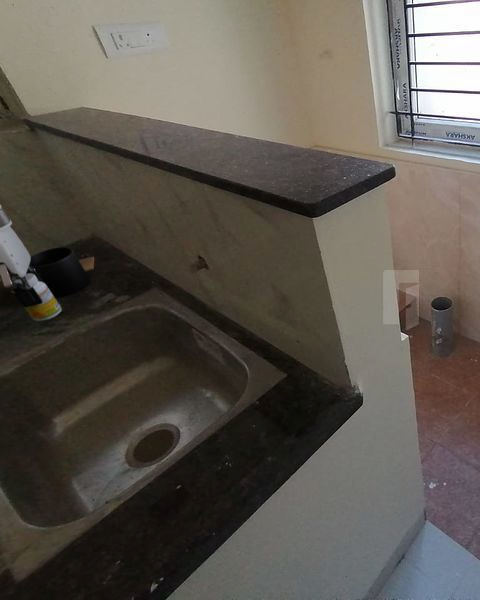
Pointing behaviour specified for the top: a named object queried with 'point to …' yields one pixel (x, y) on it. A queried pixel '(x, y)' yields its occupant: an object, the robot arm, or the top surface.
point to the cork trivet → (87, 263)
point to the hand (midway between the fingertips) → (35, 296)
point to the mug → (60, 271)
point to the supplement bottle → (49, 303)
